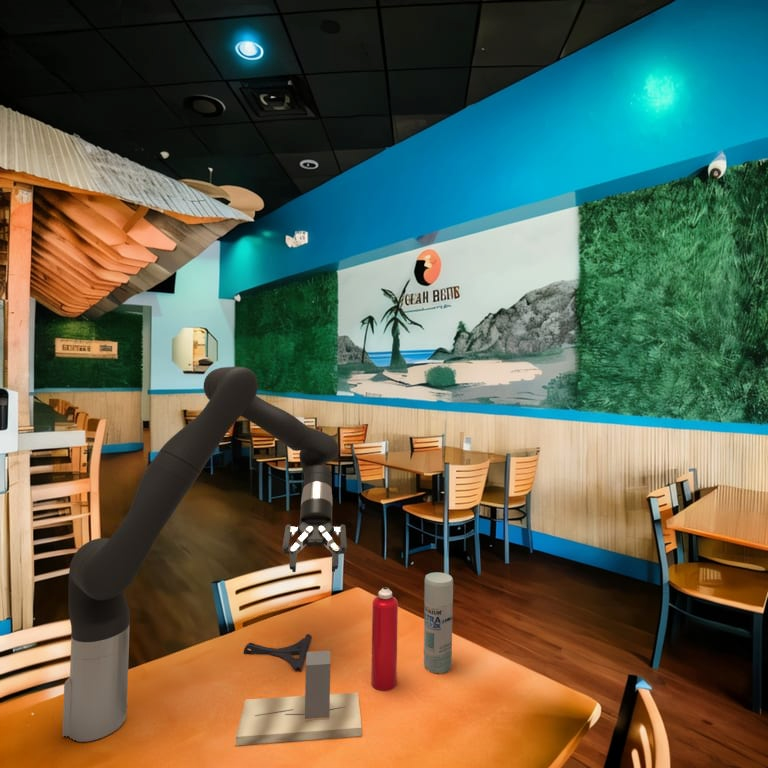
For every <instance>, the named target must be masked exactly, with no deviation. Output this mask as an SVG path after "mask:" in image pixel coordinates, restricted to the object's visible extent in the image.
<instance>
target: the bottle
mask: <svg viewBox="0 0 768 768" xmlns="http://www.w3.org/2000/svg"><path fill="white" fill-rule="evenodd" d="M398 610H399V602H398V600H397V598H396V597H395V596H393V592H392V590H390V588H389V587H387V586H385V587H382V588H381V590H379V591H378V595H376V597H374V598H373V600H372V615H371V617H372V619H371V621H372V622H371V623H372V624H371V665H370V666H371V673H370V675H371V676H370V678H371V679H370V681H371V682H370V683H371V687H373V688H374V689H375V690H378V691H381V692H386V691H391V690H394V689H395V688H396V687H397V682H398V681H397V680H398V679H397V677H398V672H397V671H398V624H399V623H398V622H399V621H398V620H399V619H398V614H399V613H398V612H399V611H398Z"/></svg>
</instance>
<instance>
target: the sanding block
mask: <svg viewBox="0 0 768 768" xmlns="http://www.w3.org/2000/svg"><path fill="white" fill-rule="evenodd" d="M304 684H305V688H304V689H305V690H304V691H305V693H304V696H305V718H304V721H310V720H324V719H330V694H331V650H318V651H308V652H307V655H306V658H305V683H304Z"/></svg>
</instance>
